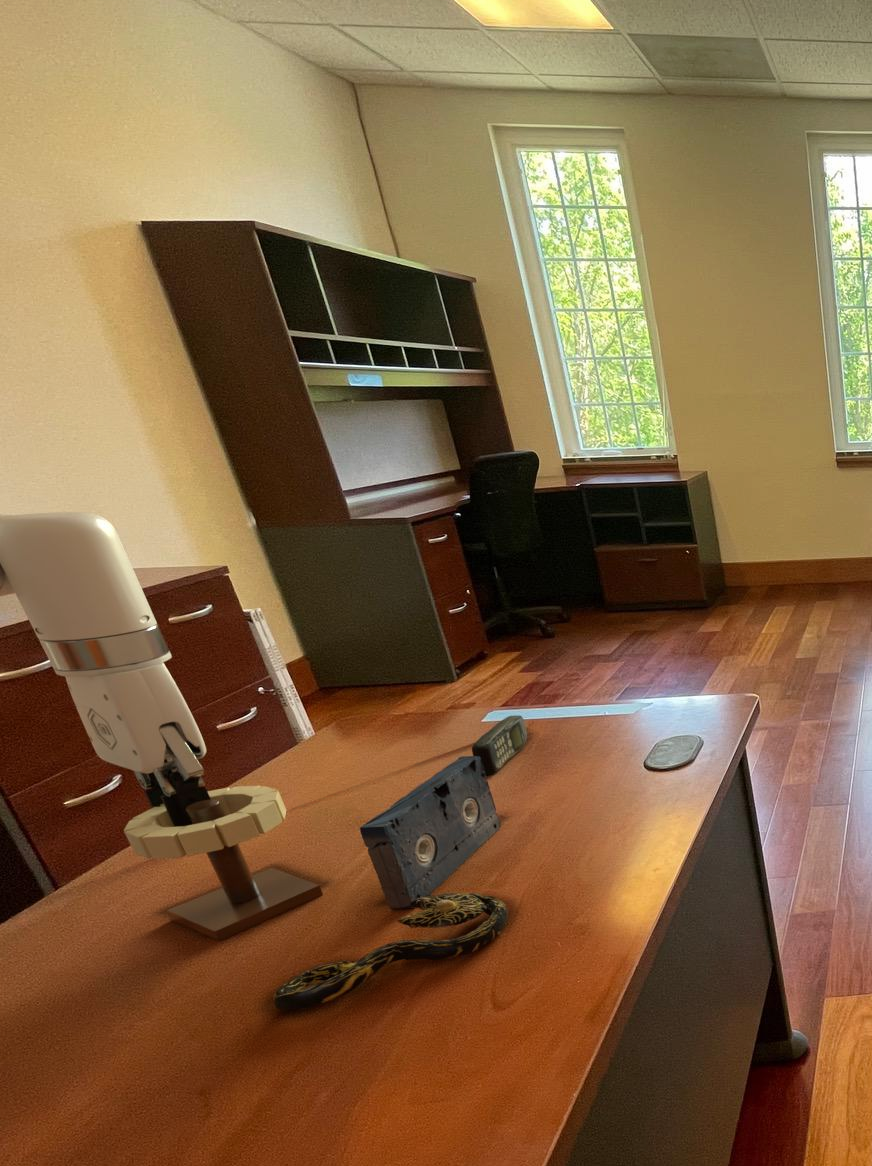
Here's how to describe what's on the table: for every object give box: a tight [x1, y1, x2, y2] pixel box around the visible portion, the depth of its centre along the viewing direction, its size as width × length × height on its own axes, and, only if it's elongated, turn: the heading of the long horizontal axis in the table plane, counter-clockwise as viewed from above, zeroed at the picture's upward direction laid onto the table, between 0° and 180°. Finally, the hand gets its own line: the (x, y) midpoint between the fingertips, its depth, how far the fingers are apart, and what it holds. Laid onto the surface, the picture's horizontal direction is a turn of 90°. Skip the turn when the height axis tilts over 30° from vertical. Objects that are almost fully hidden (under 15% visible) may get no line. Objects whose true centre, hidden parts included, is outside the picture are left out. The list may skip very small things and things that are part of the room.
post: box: [166, 800, 324, 942], centre depth 81 cm, size 9×9×12 cm
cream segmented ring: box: [123, 785, 287, 860], centre depth 79 cm, size 11×11×2 cm
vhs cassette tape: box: [359, 755, 502, 910], centre depth 89 cm, size 18×3×10 cm, turn 4°
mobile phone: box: [471, 714, 528, 775], centre depth 119 cm, size 5×3×15 cm
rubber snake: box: [273, 892, 509, 1012], centre depth 75 cm, size 18×5×10 cm
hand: (189, 820), depth 81 cm, fingers closed on cream segmented ring, 2 cm apart
